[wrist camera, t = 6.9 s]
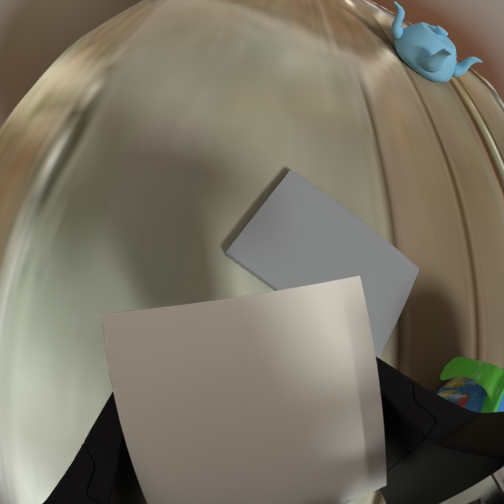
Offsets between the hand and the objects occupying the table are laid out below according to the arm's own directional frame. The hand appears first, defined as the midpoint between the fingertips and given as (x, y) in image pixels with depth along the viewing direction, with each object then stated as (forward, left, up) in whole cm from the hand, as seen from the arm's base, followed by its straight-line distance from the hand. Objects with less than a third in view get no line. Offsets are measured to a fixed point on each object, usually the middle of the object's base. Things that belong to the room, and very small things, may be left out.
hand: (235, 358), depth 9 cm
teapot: (-2, -57, -14) cm, 59 cm away
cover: (-1, +1, -7) cm, 7 cm away
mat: (-4, -11, -13) cm, 18 cm away
